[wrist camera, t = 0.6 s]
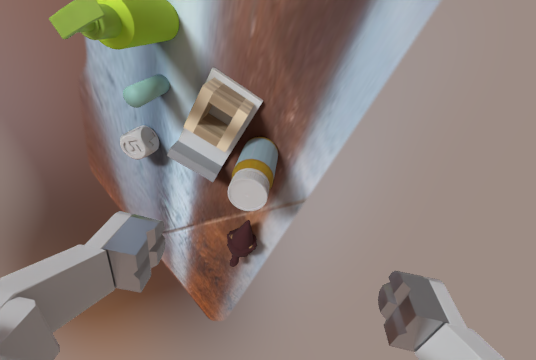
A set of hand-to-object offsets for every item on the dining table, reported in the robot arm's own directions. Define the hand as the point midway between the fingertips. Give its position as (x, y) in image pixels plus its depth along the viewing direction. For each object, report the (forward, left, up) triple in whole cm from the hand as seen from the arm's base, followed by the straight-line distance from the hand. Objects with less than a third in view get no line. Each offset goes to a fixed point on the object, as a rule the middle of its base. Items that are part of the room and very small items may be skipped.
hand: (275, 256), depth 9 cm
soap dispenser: (+6, -22, -40) cm, 46 cm away
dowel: (+16, -19, -40) cm, 47 cm away
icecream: (+38, +11, -40) cm, 56 cm away
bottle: (+17, +3, -40) cm, 44 cm away
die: (+28, -18, -40) cm, 52 cm away
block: (+13, -7, -39) cm, 41 cm away
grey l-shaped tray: (+17, -7, -40) cm, 44 cm away
